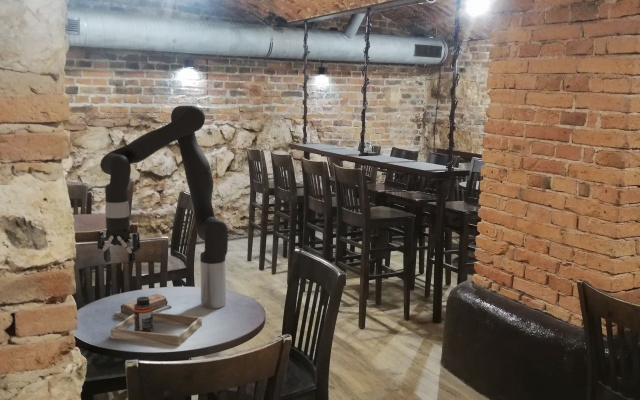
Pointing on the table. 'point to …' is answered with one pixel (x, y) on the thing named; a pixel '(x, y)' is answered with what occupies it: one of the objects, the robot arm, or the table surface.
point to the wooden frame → (124, 334)
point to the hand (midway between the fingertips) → (119, 262)
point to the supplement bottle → (143, 315)
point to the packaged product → (156, 300)
